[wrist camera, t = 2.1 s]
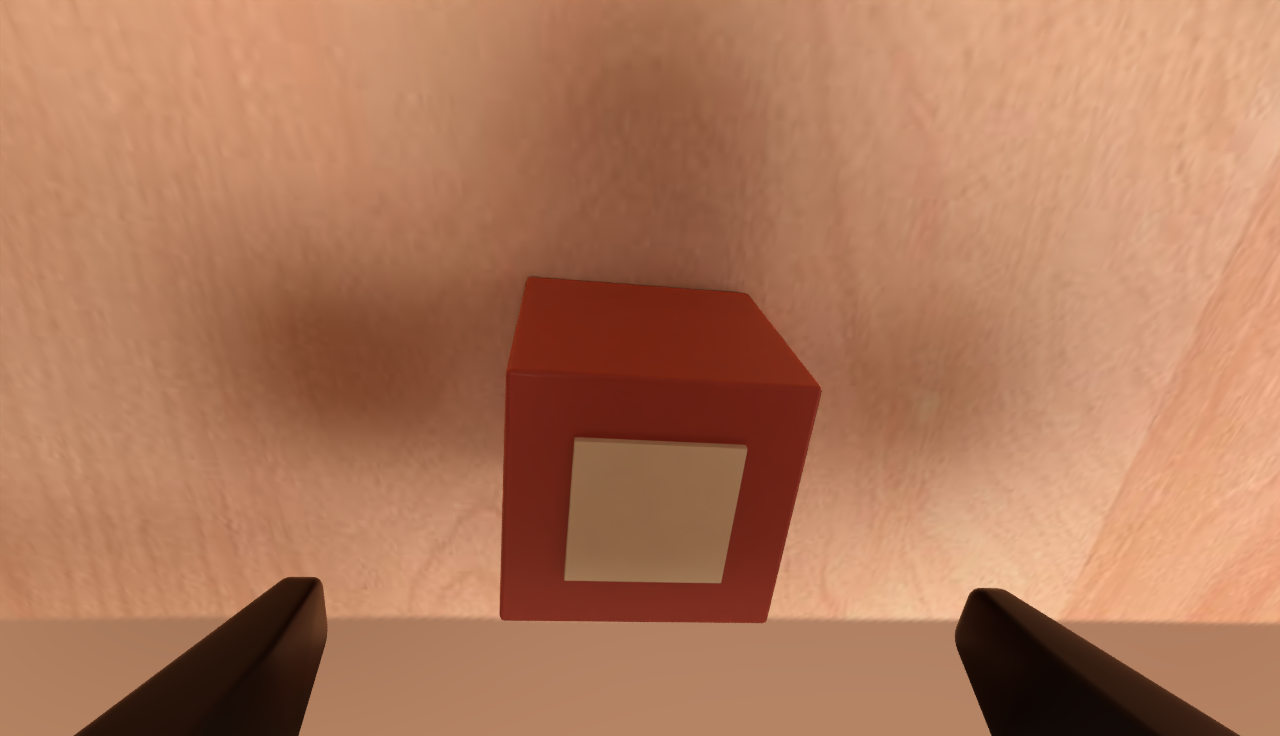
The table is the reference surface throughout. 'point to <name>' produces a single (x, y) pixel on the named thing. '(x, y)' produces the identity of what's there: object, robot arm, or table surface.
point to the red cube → (648, 455)
